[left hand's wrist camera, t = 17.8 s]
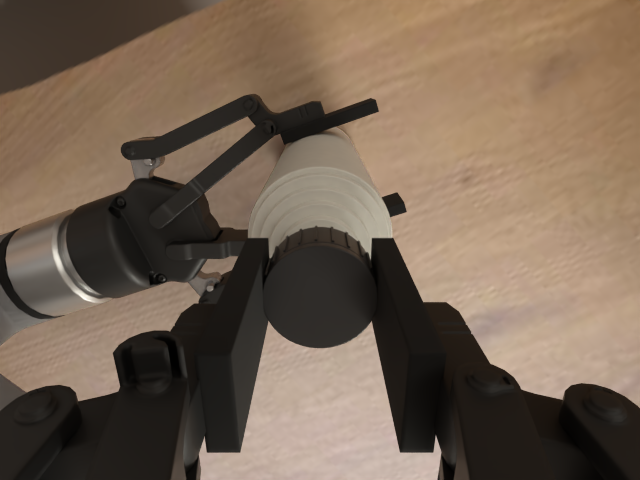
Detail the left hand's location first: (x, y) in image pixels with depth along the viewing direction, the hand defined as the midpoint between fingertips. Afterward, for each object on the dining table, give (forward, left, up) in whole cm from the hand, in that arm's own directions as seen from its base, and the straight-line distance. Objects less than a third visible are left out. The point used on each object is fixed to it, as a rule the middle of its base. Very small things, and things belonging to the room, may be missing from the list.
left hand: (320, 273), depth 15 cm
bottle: (0, 0, -22) cm, 22 cm away
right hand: (-5, -1, -16) cm, 16 cm away
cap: (0, 0, +2) cm, 2 cm away
